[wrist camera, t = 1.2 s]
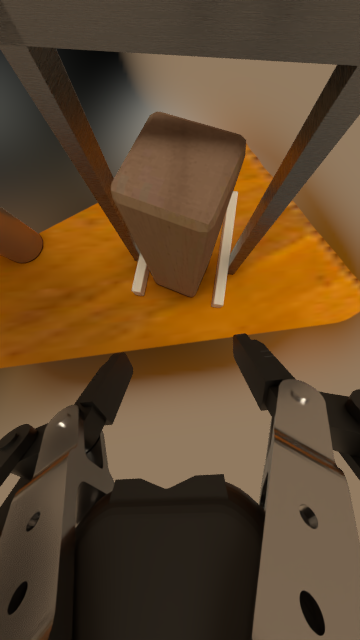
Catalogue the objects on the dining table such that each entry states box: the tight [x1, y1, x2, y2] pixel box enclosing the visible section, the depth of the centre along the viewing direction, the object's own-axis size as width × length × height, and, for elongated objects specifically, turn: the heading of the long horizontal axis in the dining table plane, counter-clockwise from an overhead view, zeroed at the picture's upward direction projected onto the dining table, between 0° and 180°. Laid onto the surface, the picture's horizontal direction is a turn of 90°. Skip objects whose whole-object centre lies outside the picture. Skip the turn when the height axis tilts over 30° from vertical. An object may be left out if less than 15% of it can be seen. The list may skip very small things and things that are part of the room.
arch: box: [0, 0, 360, 275], centre depth 18 cm, size 24×3×26 cm, turn 80°
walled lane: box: [132, 191, 238, 308], centre depth 30 cm, size 20×28×2 cm
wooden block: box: [111, 112, 246, 297], centre depth 21 cm, size 10×10×20 cm
